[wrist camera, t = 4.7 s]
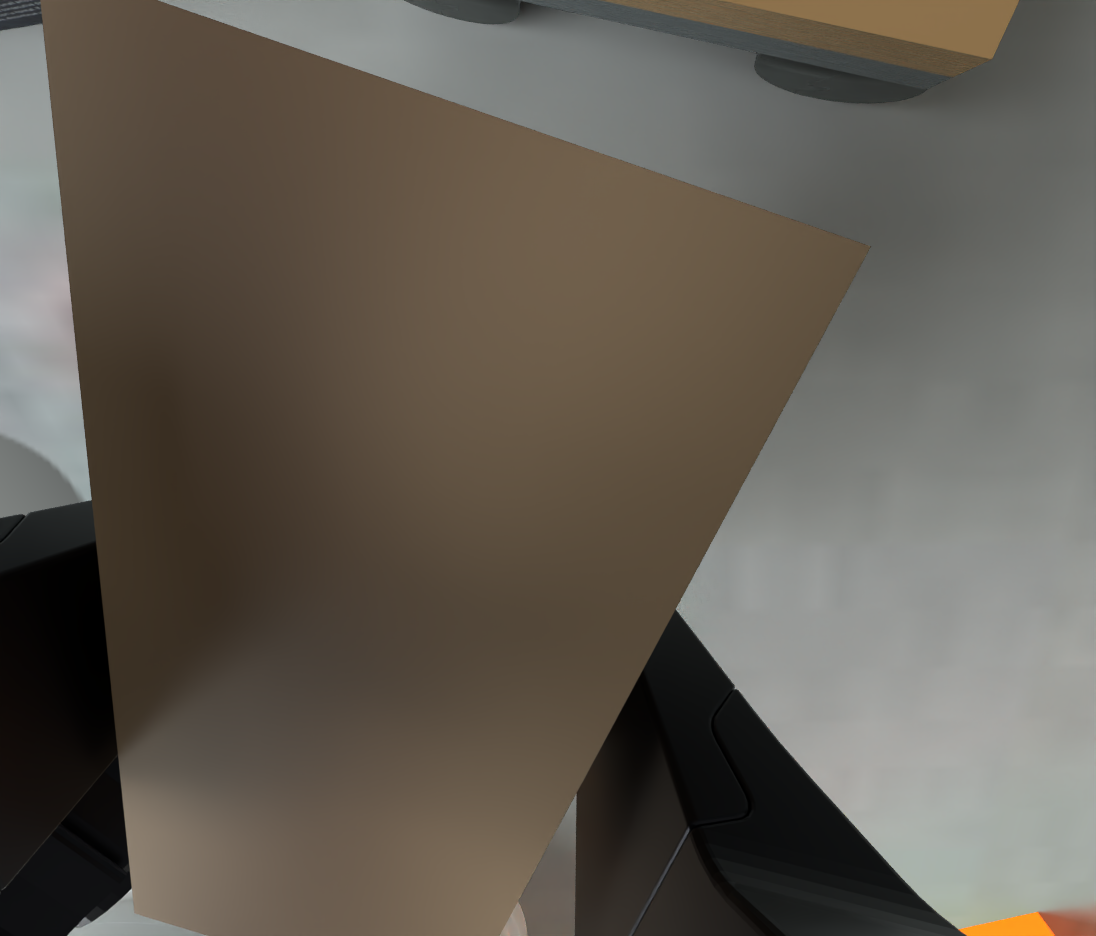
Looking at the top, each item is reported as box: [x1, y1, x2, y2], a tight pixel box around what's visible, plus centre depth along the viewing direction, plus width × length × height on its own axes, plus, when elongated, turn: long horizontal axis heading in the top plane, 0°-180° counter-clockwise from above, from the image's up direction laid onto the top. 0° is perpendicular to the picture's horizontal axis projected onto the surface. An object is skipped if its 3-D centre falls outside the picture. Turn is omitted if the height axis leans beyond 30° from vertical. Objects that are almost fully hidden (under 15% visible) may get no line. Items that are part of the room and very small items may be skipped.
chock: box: [40, 0, 871, 936], centre depth 8 cm, size 5×11×5 cm, turn 163°
